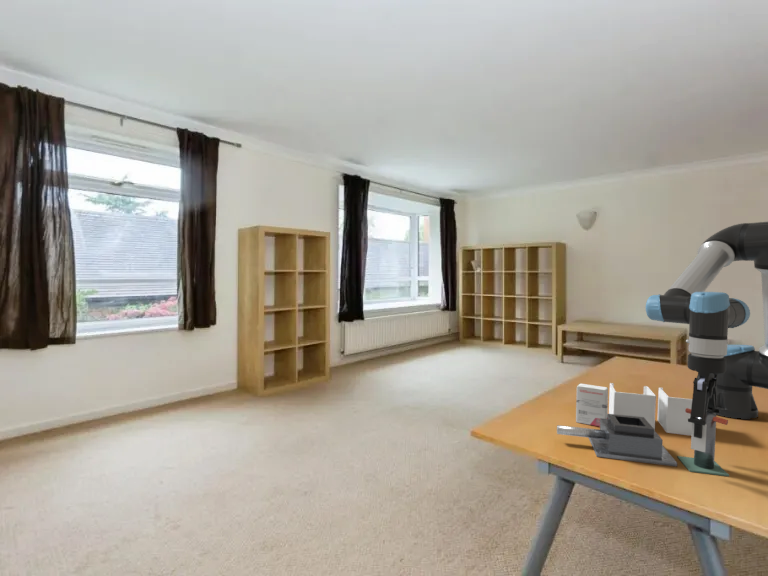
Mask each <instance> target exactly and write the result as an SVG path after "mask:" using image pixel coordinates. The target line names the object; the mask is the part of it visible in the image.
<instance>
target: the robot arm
mask: <svg viewBox="0 0 768 576" xmlns="http://www.w3.org/2000/svg"><path fill="white" fill-rule="evenodd" d="M738 261H740V262H741V261H743V262H744V261H745V262H746V261H747V262H748V261H749V262H751V261H753V263H754V266H753V267H754V269H755V270H757V271H759V272H760V274H761V276H760V277H761V292H762V293H761V296H762V313H763V315H762V316H763V330H764V331H763V334H764V344H763V345H762V346H760V347H759V348H758V350H756V348H755V347H754V345H752V344H751V345H750V344H728V342H729V341H728V340H729V339H728V334H729V333H728V332H729V329H734V328H737V327H740V326H742V325H744V324H745V323H747V322H748V320H750V317H751V309H750V307H749V306H748V304H747V303H745V302H744V301H743V300H742V299H741V300H740V299H738V298H735V297H734V298H733V297H730V295H729V294H728V293H727V292H721V291H720V292H719V291H706V290H707V289H708V288H709V286H710V285H711V284H712V283H713V281H714V280H715V279H716V277H717V276H718V275H719V274H720V273H721V271H722V270H723V268H726V267H728V266H730V265H731V264H732V263H733V262H738ZM689 263H690V264H689V265H688V266H686V268H685V269H684V270H683V272H682V273H681V274H680V275H679V276H678V278H676V280H675V281H674V282H673V283H672V284H671V286H670V287H668V289H667V290H666V291H665V292H664V294H653V295H650V296H649V297H648V298H647V300H646V303H645V312H646V316H647V317H648V318H649V320H652V321H658V322H662V323H671V324H674V323H675V324H684V325H689V327H688V329H689V331H688V338H687V339H686V340H685V342H686V343H687V344H688V352H689V354H688V355H687V368H688V370H691V371H694V372H696V373H697V375H696V377H694V379H693V382H692V384H693V389H692V390H693V393H692V398H691V399H692V407H691V417H690V419H688V422H691V423H692V433H691V438H690V449H691V450H693V451H694V450H698V451H701V452H705V449H706V427H707V424H706V415H707V412H710V413H713V414H715V415H716V416H721V417H724V416H725V418H730V417H731V418H732V419H737V418H741V419H740V420H751V419H750V418H756V417H758V418H759V408H758V406H757V403H756V400H755V398H754V394H753V387H755V388H760V389H764V390H768V221H759V222H743V223H737V224H733V225H731V226H727V227H725V228H723V229H721V230H719V231H717V232H715V233H714V234H712V235H710V236H709V237H708V238H707V239H705V240H704V241H703V242H702V243H701V245H700V246H699V247H698V248H697V255H696V256H695V258H693V260H692V261H691V262H689ZM696 417H698V418H696ZM699 418H700V419H699ZM731 418H730V419H731ZM756 419H757V418H756Z"/></svg>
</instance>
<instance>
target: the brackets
mask: <svg viewBox="0 0 768 576" xmlns="http://www.w3.org/2000/svg"><path fill="white" fill-rule="evenodd" d="M614 387H615V384H614V383H613V382H609V391H608V414H615V415H626V416H636V417H644V418H645V419H646V420H647V422H648V423H649V424H650V425H651V426H652V427H653V428H654V431H655V432H656V430H655V429H656V407H657V422H658V423H659V424H660V426H661V427H662V429H663V430H664V432H665V433H667V434H668V433H669V434H673V435H674V434H675V435H676V434H677V435H684V436H689V437H690V436H691V433H692V423H691V422H688V419H690V417H691V414H689V413H686V412H685V410H686V408H689V409H691V407H692V398H683V397H672V396H669V395H668V394H667V393H666V392H665V391H664V388H663V387H658V398H657V395H656V394H655V393H654V392H653V391H652V389H651V388H650V387H649V386H647V385H644V386H643V393H634V392H621V391H616V389H615V388H614ZM656 401H657V402H656Z"/></svg>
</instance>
